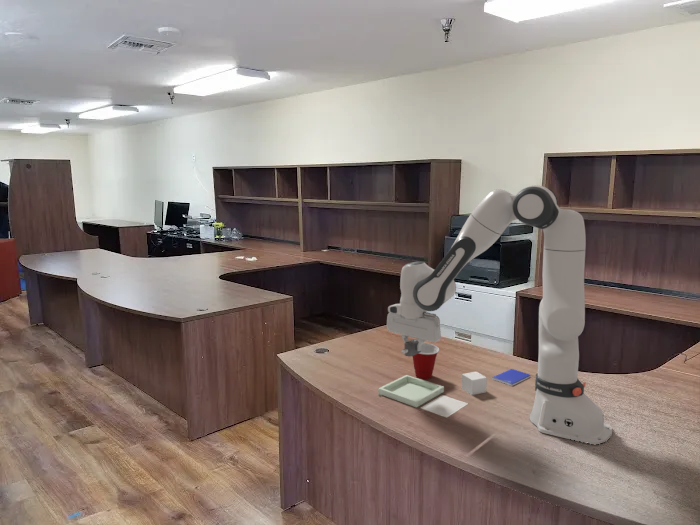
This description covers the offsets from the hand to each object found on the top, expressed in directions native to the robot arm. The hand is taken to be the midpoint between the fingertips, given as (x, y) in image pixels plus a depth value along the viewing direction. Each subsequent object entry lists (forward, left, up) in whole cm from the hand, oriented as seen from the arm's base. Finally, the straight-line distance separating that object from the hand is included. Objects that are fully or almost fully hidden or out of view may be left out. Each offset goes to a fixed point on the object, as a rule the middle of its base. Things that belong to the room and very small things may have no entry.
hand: (412, 349), depth 169 cm
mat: (-14, +2, -16) cm, 21 cm away
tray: (0, +1, -16) cm, 16 cm away
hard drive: (-19, -35, -17) cm, 43 cm away
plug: (0, 0, -2) cm, 2 cm away
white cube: (-15, -15, -16) cm, 27 cm away
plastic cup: (+5, -14, -16) cm, 22 cm away
